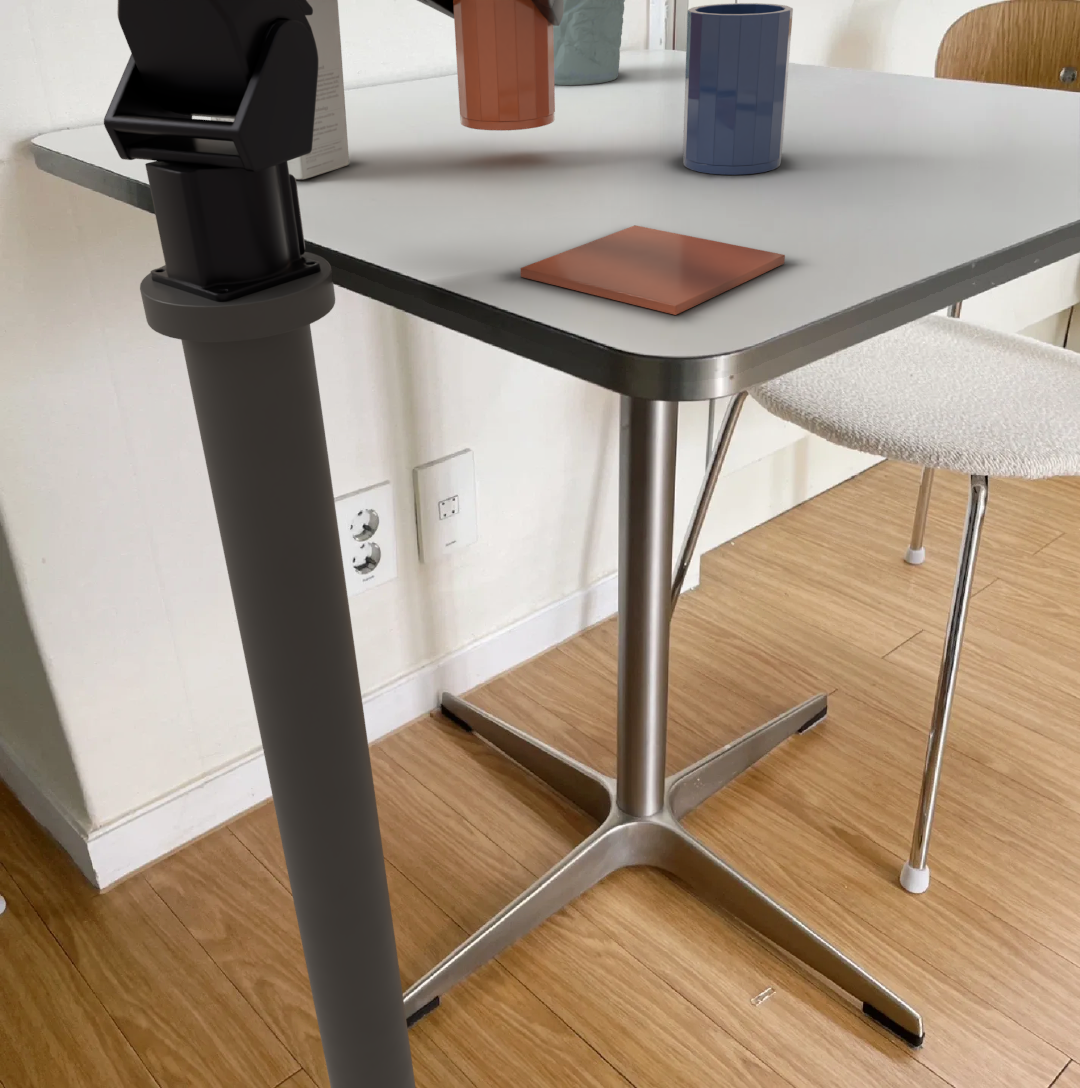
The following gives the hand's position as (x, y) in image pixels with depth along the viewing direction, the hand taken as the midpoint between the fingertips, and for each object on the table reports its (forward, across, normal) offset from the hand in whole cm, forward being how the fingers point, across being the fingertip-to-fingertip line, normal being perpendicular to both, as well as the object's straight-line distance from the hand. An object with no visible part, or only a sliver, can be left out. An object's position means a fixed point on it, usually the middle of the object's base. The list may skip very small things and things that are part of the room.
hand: (513, 19), depth 80 cm
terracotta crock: (+4, 0, +6) cm, 7 cm away
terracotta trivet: (-9, -19, +22) cm, 31 cm away
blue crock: (+9, -16, +5) cm, 18 cm away
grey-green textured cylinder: (+30, +10, -17) cm, 36 cm away
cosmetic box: (+1, +14, +13) cm, 19 cm away
